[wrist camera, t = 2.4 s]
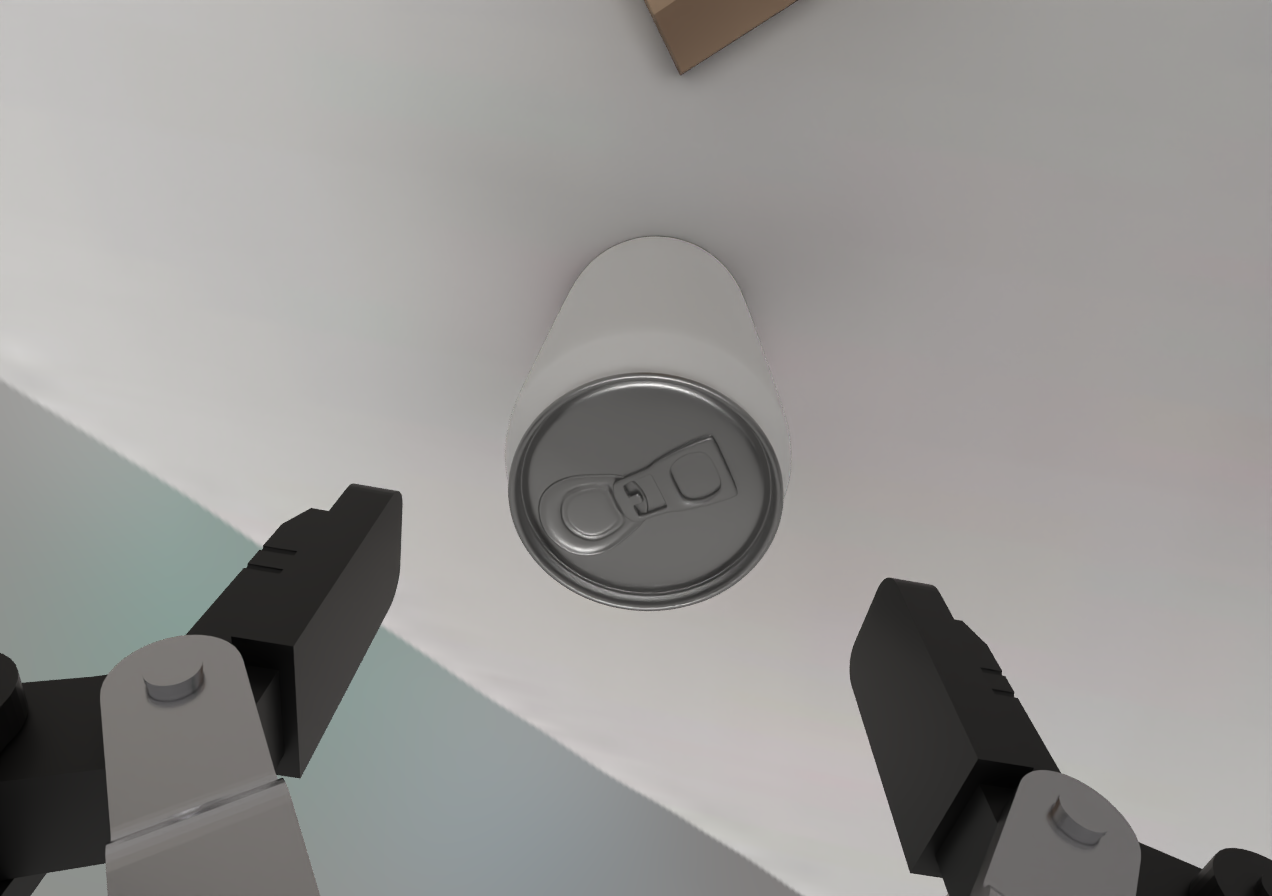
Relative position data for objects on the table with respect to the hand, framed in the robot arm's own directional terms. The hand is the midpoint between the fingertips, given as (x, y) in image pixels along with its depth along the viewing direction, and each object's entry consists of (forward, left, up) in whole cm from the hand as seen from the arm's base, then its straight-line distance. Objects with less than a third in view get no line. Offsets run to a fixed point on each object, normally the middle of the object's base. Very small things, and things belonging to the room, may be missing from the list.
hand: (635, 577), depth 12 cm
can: (0, 0, -15) cm, 15 cm away
